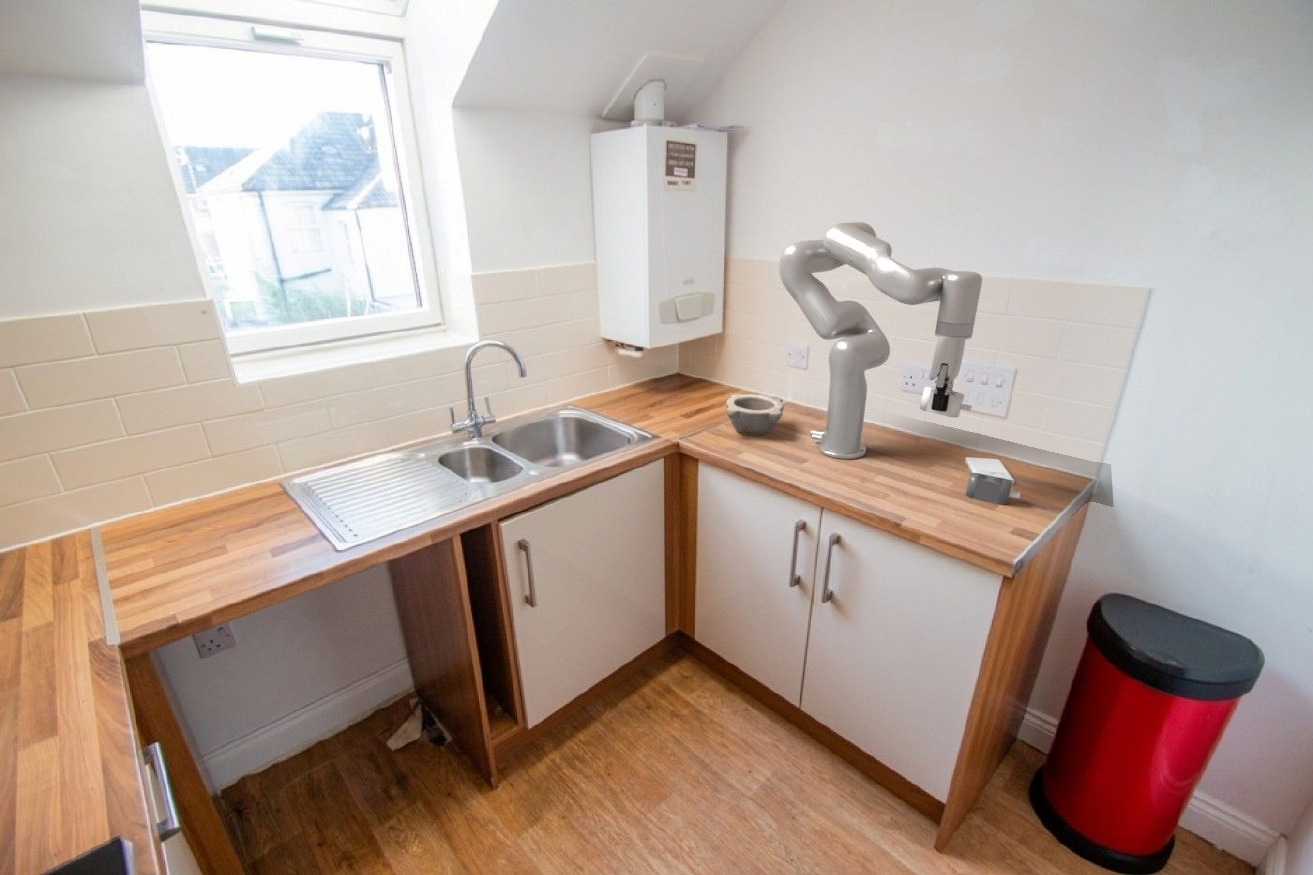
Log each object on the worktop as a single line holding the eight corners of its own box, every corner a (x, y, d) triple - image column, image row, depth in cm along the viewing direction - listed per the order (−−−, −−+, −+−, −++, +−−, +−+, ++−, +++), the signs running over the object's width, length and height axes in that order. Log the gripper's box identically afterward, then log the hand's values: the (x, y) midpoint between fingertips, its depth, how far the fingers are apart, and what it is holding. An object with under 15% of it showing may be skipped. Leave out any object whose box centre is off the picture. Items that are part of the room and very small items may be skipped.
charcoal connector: (964, 496, 139) (968, 477, 137) (967, 490, 142) (970, 471, 140) (1016, 508, 134) (1021, 488, 132) (1018, 502, 136) (1023, 482, 134)
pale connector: (917, 409, 141) (922, 389, 139) (921, 405, 144) (926, 385, 142) (966, 420, 136) (972, 400, 134) (969, 416, 138) (975, 396, 136)
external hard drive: (998, 465, 156) (1013, 485, 145) (964, 462, 158) (977, 482, 147) (999, 459, 156) (1015, 479, 145) (965, 456, 158) (978, 476, 146)
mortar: (780, 443, 171) (783, 413, 168) (721, 438, 175) (722, 408, 171) (782, 423, 186) (785, 395, 183) (728, 419, 190) (729, 391, 187)
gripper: (943, 321, 141) (930, 396, 148) (928, 334, 129) (915, 415, 135) (978, 325, 137) (964, 401, 144) (966, 338, 125) (951, 421, 131)
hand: (940, 407), depth 140 cm, fingers closed on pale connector, 3 cm apart
